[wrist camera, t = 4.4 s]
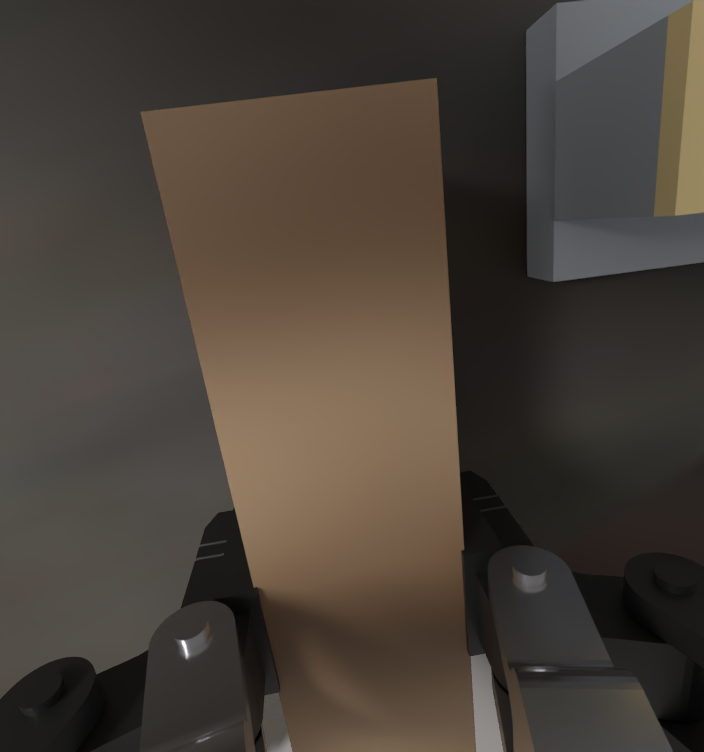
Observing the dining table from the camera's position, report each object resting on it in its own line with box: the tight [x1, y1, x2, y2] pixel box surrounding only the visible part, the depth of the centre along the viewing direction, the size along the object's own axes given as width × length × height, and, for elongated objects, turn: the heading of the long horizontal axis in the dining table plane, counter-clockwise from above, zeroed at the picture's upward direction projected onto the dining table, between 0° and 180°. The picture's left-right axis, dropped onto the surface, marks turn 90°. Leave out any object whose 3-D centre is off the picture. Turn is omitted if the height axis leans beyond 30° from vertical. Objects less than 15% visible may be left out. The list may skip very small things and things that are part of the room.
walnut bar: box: [140, 78, 476, 752], centre depth 10 cm, size 16×4×4 cm, turn 7°
